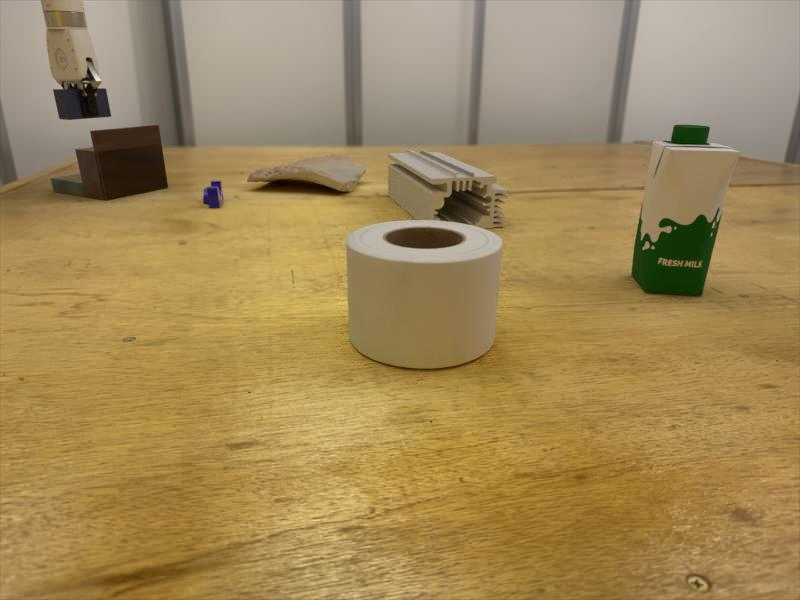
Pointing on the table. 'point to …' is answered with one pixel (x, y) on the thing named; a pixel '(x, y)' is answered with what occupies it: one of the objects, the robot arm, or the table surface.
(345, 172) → the pottery shard
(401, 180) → the aluminum extrusion profile
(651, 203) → the milk carton
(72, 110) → the rectangular block
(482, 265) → the tape roll
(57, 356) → the table surface
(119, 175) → the rack
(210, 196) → the cable holder
